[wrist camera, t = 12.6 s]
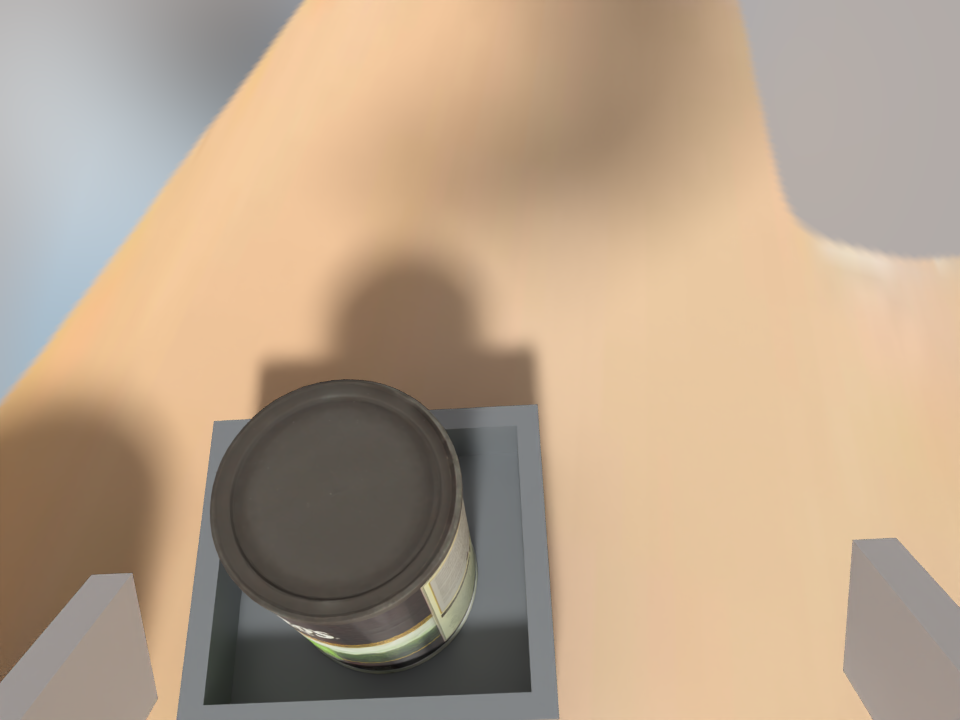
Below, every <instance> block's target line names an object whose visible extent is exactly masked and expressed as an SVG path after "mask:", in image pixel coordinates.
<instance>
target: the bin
mask: <svg viewBox="0 0 960 720" xmlns="http://www.w3.org/2000/svg"><path fill="white" fill-rule="evenodd" d="M429 411H430V412H431V413H432V414H433V415H434V416H435V417H436V419H437V420H438V421H439V422H440V424H441V425H442V426H443V427H444V429H445V431H446V432H447V434H448V436H449V438H450V440H451V441H452V443H453V446H454V448H455V451H456V453H457V456H458V460H459V464H460V470H461V475H462V485H463V501H464V507H465V512H466V517H467V522H468V528H469V533H470V538H471V542H472V545H473V548H474V551H475V555H476V561H477V568H478V580H477V589H476V594H475V598H474V602H473V605H472V608H471V611H470V613H469V615H468V618H467V620H466V622H465V623H464V625H463V627H462V628H461V630H460V631H459V633H458V634H457V635H456V637H455V638H454V639H453V640H452V641H451V643H450V644H449V645H448V646H446V647H445V648H444V649H443V650H442V651H441V652H439V653H438V654H437V655H435V656H434V657H432V658H431V659H429V660H428V661H426V662H424V663H422V664H420V665H418V666H415V667H413V668H410V669H408V670H404V671H400V672H395V673H388V674H373V673H364V672H360V671H355V670H352V669H350V668H347V667H344V666H342V665H340V664H338V663H336V662H334V661H333V660H331V659H330V658H328V657H327V656H325V655H324V654H323V653H322V652H321V651H320V650H318V648H317V647H316V646H315V645H314V644H313V643H312V642H311V641H310V640H308V639H307V638H306V637H305V636H303V635H302V634H301V633H299V632H298V631H297V630H296V629H295V628H293V627H292V626H290V625H289V624H288V623H286V622H285V621H284V620H283V619H282V618H280V617H279V616H278V615H276V614H274V613H273V612H271V611H269V610H267V609H265V608H263V607H262V606H260V605H259V604H257V603H256V602H254V601H253V600H252V599H251V598H249V597H248V596H247V595H246V594H245V593H244V592H243V591H242V590H241V589H240V588H239V587H238V586H237V585H236V583H235V582H234V581H233V580H232V579H231V577H230V576H229V575H228V573H227V572H226V570H225V568H224V566H223V564H222V563H221V561H220V559H219V556H218V554H217V551H216V548H215V545H214V542H213V538H212V533H211V526H210V501H211V493H212V487H213V483H214V480H215V476H216V472H217V470H218V467H219V464H220V462H221V460H222V458H223V456H224V454H225V452H226V450H227V449H228V447H229V446H230V444H231V443H232V441H233V440H234V438H235V437H236V436H237V434H238V433H239V432H240V431H241V430H242V428H243V427H244V426H245V425H246V424H247V423H248V422H249V421H250V420H251V419H246V420H227V421H214V425H213V433H212V441H211V449H210V457H209V465H208V473H207V481H206V489H205V497H204V505H203V513H202V521H201V529H200V537H199V545H198V553H197V560H196V568H195V576H194V584H193V592H192V600H191V608H190V616H189V624H188V632H187V640H186V648H185V656H184V664H183V672H182V680H181V688H180V696H179V704H178V712H177V720H559V708H558V694H557V680H556V665H555V651H554V636H553V622H552V608H551V593H550V579H549V564H548V550H547V535H546V521H545V507H544V492H543V478H542V463H541V449H540V435H539V420H538V406H537V404H536V405H517V406H497V407H478V408H459V409H439V410H429Z"/></svg>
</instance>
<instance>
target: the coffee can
mask: <svg viewBox="0 0 960 720" xmlns="http://www.w3.org/2000/svg"><path fill="white" fill-rule="evenodd" d="M210 526H211V533H212V538H213V542H214V545H215V548H216V551H217V554H218V556H219V559H220V561H221V563H222V564H223V566H224V568H225V570H226V572H227V573H228V575H229V576H230V577H231V579H232V580H233V581H234V582H235V583H236V585H237V586H238V587H239V588H240V589H241V590H242V591H243V592H244V593H245V594H246V595H247V596H248V597H249V598H251V599H252V600H253V601H254V602H256V603H257V604H259V605H260V606H262V607H263V608H265V609H267V610H269V611H271V612H273V613H274V614H276V615H278V616H279V617H280V618H282V619H283V620H284V621H285V622H286V623H288V624H289V625H290V626H292V627H293V628H295V629H296V630H297V631H298V632H299V633H301V634H302V635H303V636H305V637H306V638H307V639H308V640H310V641H311V642H312V643H313V644H314V645H315V646H316V647H317V648H318V650H320V651H321V652H322V653H323V654H324V655H325V656H327V657H328V658H330V659H331V660H333V661H334V662H336V663H338V664H340V665H342V666H344V667H347V668H350V669H352V670H355V671H360V672H364V673H373V674H388V673H395V672H400V671H404V670H408V669H410V668H413V667H415V666H418V665H420V664H422V663H424V662H426V661H428V660H429V659H431V658H432V657H434V656H435V655H437V654H438V653H439V652H441V651H442V650H443V649H444V648H445V647H446V646H448V645H449V644H450V643H451V641H452V640H453V639H454V638H455V637H456V635H457V634H458V633H459V631H460V630H461V628H462V627H463V625H464V623H465V622H466V620H467V618H468V615H469V613H470V611H471V608H472V605H473V602H474V598H475V594H476V589H477V580H478V568H477V561H476V555H475V551H474V548H473V545H472V542H471V538H470V533H469V528H468V522H467V517H466V512H465V507H464V501H463V485H462V475H461V470H460V464H459V460H458V456H457V453H456V451H455V448H454V446H453V443H452V441H451V440H450V438H449V436H448V434H447V432H446V431H445V429H444V427H443V426H442V425H441V424H440V422H439V421H438V420H437V419H436V417H435V416H434V415H433V414H432V413H431V412H430V411H429V410H428V409H427V408H426V407H425V406H423V405H422V404H421V403H420V402H418V401H417V400H416V399H414V398H412V397H411V396H409V395H407V394H405V393H404V392H402V391H400V390H398V389H395V388H393V387H390V386H387V385H384V384H380V383H376V382H372V381H364V380H348V379H343V380H331V381H326V382H320V383H316V384H312V385H308V386H304V387H302V388H299V389H297V390H294V391H292V392H290V393H288V394H286V395H284V396H282V397H280V398H278V399H276V400H275V401H273V402H272V403H270V404H269V405H268V406H266V407H265V408H263V409H262V410H261V411H260V412H259V413H258V414H256V415H255V416H254V417H253V418H252V419H251V420H250V421H249V422H248V423H247V424H246V425H245V426H244V427H243V428H242V430H241V431H240V432H239V433H238V434H237V436H236V437H235V438H234V440H233V441H232V443H231V444H230V446H229V447H228V449H227V450H226V452H225V454H224V456H223V458H222V460H221V462H220V464H219V467H218V470H217V472H216V476H215V480H214V483H213V487H212V493H211V501H210Z"/></svg>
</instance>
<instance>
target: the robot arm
mask: <svg viewBox="0 0 960 720" xmlns="http://www.w3.org/2000/svg"><path fill="white" fill-rule="evenodd" d="M843 671H844V673H845V674H846V676H847V678H848V679H849V681H850V683H851V684H852V686H853V688H854V689H855V691H856V692H857V694H858V696H859V697H860V699H861V701H862V702H863V704H864V706H865V707H866V709H867V711H868V712H869V714H870V715H871V717H872V719H873V720H960V607H959V606H958V605H957V604H956V603H955V602H954V601H953V600H952V599H951V598H950V597H949V595H948V594H947V593H946V592H945V591H944V590H943V589H942V588H941V587H940V586H939V584H938V583H937V582H936V581H935V580H934V579H933V578H932V577H931V576H930V575H929V573H928V572H927V571H926V570H925V569H924V568H923V567H922V566H921V565H920V564H919V563H918V561H917V560H916V559H915V558H914V557H913V556H912V555H911V554H910V553H909V552H908V550H907V549H906V548H905V547H904V546H903V545H902V544H901V543H900V542H899V541H898V539H897V538H883V539H861V540H853V543H852V557H851V570H850V584H849V597H848V611H847V624H846V638H845V651H844V665H843ZM157 699H158V696H157V691H156V686H155V681H154V676H153V672H152V667H151V662H150V657H149V652H148V647H147V642H146V637H145V632H144V627H143V622H142V618H141V613H140V608H139V603H138V598H137V593H136V588H135V583H134V578H133V573H119V574H97V575H91V576H90V577H89V578H88V580H87V581H86V582H85V583H84V584H83V586H82V587H81V588H80V589H79V590H78V591H77V593H76V594H75V595H74V596H73V597H72V599H71V600H70V601H69V602H68V603H67V604H66V606H65V607H64V608H63V609H62V610H61V612H60V613H59V614H58V615H57V616H56V617H55V619H54V620H53V621H52V622H51V623H50V625H49V626H48V627H47V628H46V629H45V630H44V632H43V633H42V634H41V635H40V636H39V638H38V639H37V640H36V641H35V642H34V643H33V645H32V646H31V647H30V648H29V649H28V651H27V652H26V653H25V654H24V655H23V656H22V658H21V659H20V660H19V661H18V662H17V664H16V665H15V666H14V667H13V668H12V669H11V671H10V672H9V673H8V674H7V675H6V677H5V678H4V679H3V680H2V681H1V682H0V720H146V719H147V717H148V715H149V713H150V712H151V710H152V708H153V706H154V704H155V703H156V701H157Z"/></svg>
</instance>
